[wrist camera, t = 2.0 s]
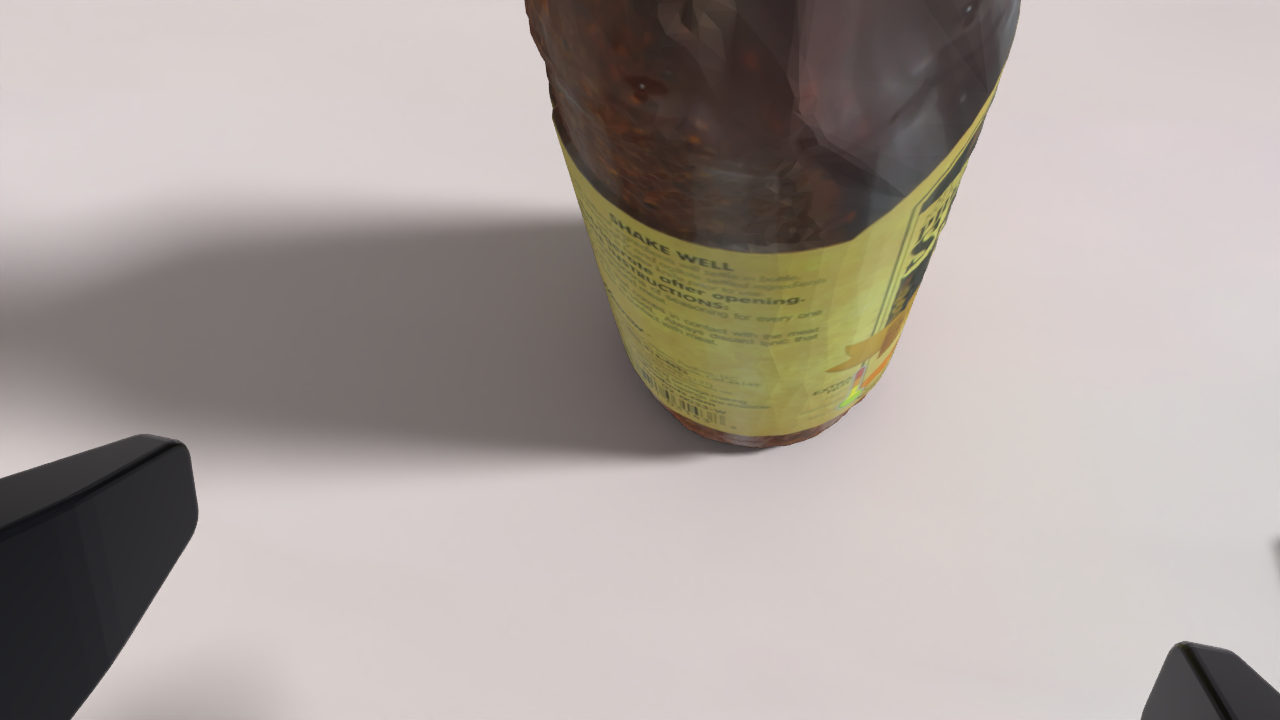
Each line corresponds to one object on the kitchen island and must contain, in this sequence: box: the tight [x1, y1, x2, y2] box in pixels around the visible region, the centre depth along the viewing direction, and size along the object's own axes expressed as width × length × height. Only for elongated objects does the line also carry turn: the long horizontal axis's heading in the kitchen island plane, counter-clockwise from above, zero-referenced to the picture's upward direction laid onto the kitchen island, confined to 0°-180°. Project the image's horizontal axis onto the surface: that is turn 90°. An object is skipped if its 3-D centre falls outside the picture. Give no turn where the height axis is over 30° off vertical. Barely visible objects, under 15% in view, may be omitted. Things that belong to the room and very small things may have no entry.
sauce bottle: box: [525, 0, 1021, 448], centre depth 15 cm, size 6×6×20 cm
